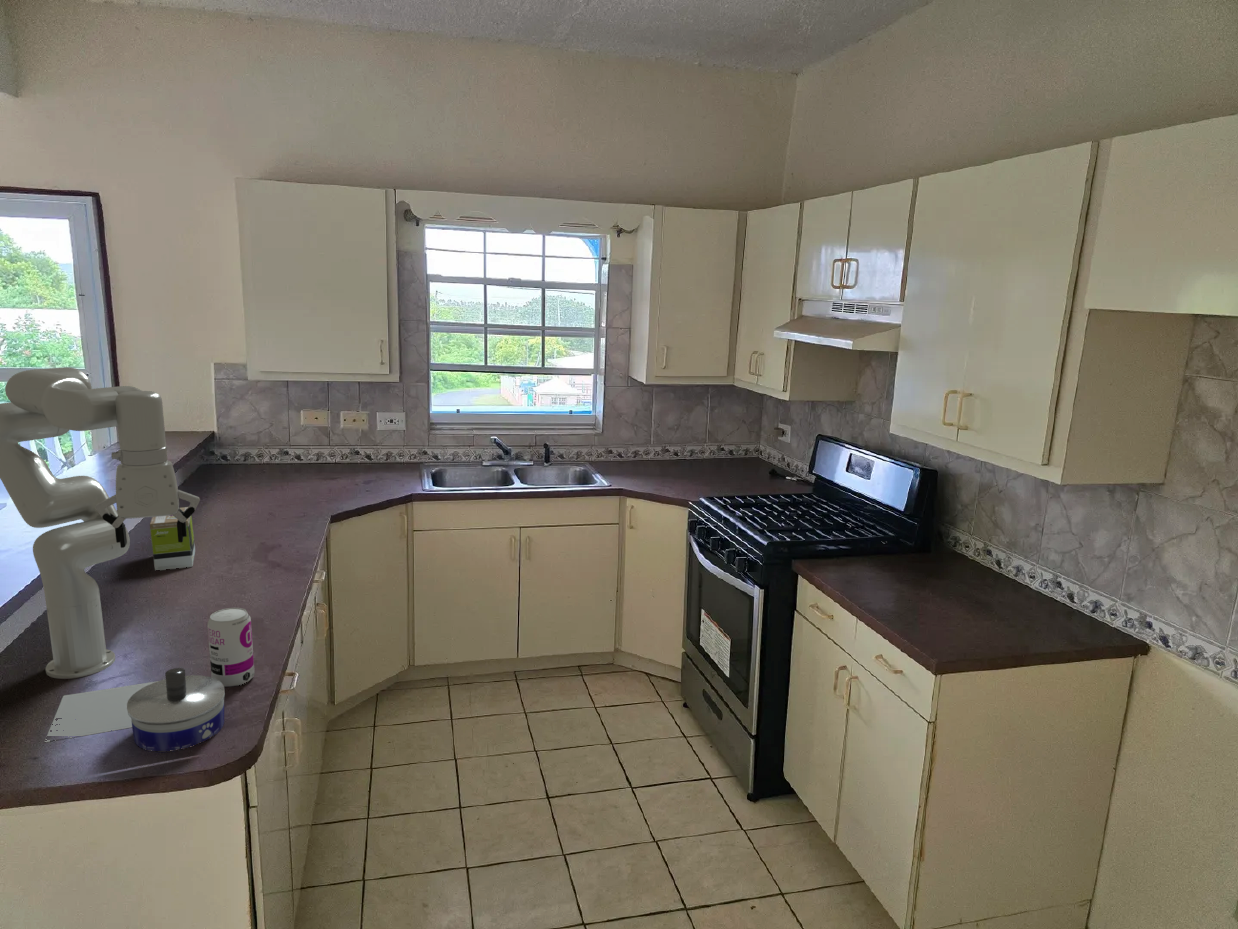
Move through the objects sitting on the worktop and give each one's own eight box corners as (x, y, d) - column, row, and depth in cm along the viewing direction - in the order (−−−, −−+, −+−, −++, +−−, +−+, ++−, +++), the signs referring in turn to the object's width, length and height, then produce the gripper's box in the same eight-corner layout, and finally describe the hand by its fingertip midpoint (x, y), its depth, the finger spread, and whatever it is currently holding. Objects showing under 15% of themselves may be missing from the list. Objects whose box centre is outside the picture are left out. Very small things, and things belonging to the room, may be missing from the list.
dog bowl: (186, 760, 141) (184, 730, 140) (112, 745, 144) (109, 715, 143) (242, 716, 156) (241, 688, 154) (174, 703, 159) (172, 675, 157)
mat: (63, 697, 160) (63, 695, 160) (165, 681, 168) (165, 680, 167) (44, 744, 144) (44, 742, 144) (158, 724, 152) (157, 722, 152)
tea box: (158, 555, 241) (154, 508, 238) (196, 551, 245) (192, 505, 242) (153, 571, 228) (148, 522, 225) (193, 567, 232) (189, 519, 229)
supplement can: (260, 670, 174) (256, 607, 170) (244, 689, 166) (239, 623, 162) (223, 670, 173) (218, 606, 170) (205, 689, 165) (199, 622, 162)
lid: (132, 687, 152) (129, 659, 151) (225, 674, 159) (223, 647, 158) (122, 732, 138) (119, 701, 137) (224, 715, 145) (222, 686, 144)
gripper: (86, 463, 143) (97, 554, 147) (195, 458, 150) (202, 544, 154) (93, 455, 149) (103, 541, 153) (196, 450, 157) (203, 533, 160)
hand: (152, 542), depth 154 cm, fingers open, 9 cm apart
